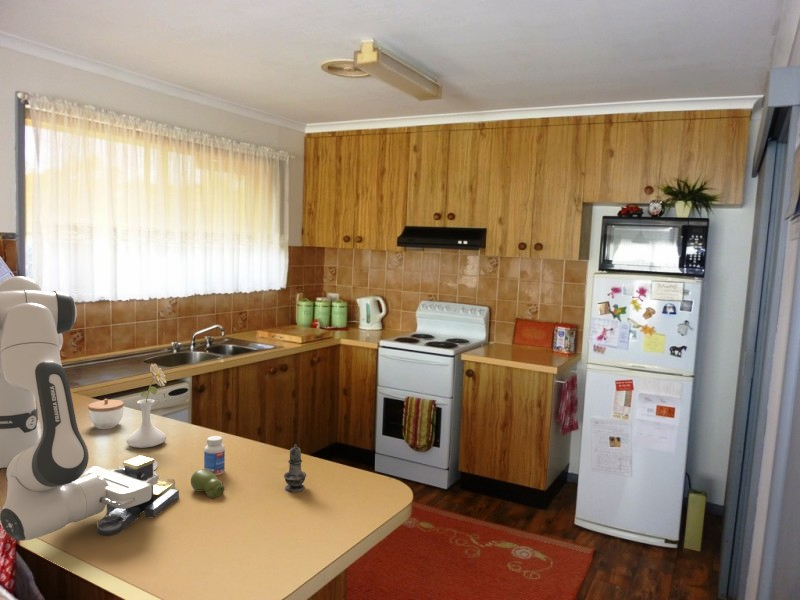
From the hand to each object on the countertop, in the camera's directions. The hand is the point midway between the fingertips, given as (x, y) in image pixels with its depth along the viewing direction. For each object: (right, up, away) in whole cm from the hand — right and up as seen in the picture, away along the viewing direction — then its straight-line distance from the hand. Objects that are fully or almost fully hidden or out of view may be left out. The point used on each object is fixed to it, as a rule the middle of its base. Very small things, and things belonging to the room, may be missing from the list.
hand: (142, 474), depth 140 cm
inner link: (+1, -7, +8) cm, 11 cm away
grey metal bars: (-1, -8, -3) cm, 9 cm away
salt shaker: (+34, -8, +14) cm, 37 cm away
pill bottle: (+10, -6, +23) cm, 26 cm away
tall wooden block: (-1, -8, 0) cm, 8 cm away
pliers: (-9, -6, +21) cm, 24 cm away
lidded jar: (-38, -1, +58) cm, 69 cm away
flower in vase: (-17, -3, +43) cm, 46 cm away
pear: (+12, -8, +10) cm, 18 cm away
